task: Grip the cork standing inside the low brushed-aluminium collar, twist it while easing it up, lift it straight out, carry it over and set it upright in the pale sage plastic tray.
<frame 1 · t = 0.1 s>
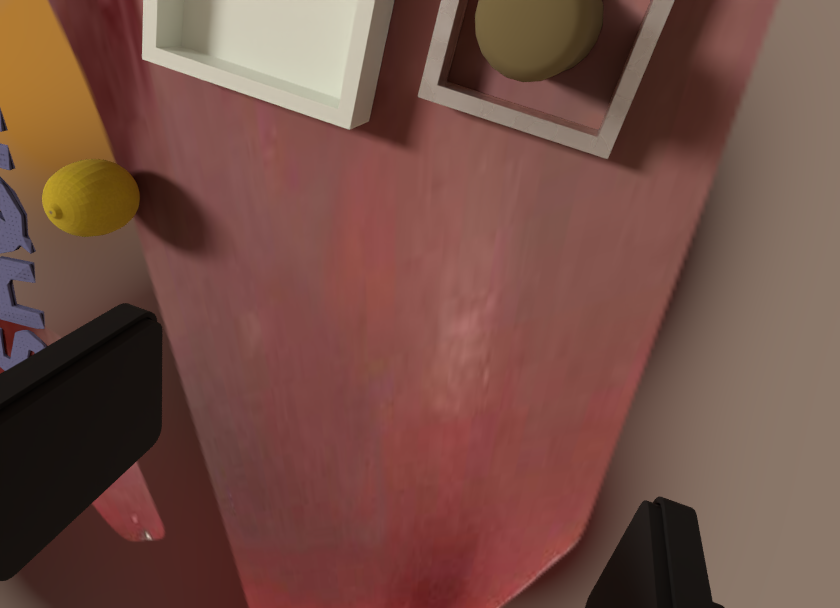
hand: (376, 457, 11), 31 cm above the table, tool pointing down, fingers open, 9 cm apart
collar: (549, 19, 35), on the table
lemon: (132, 184, 48), on the table
cork: (550, 19, 35), resting in collar
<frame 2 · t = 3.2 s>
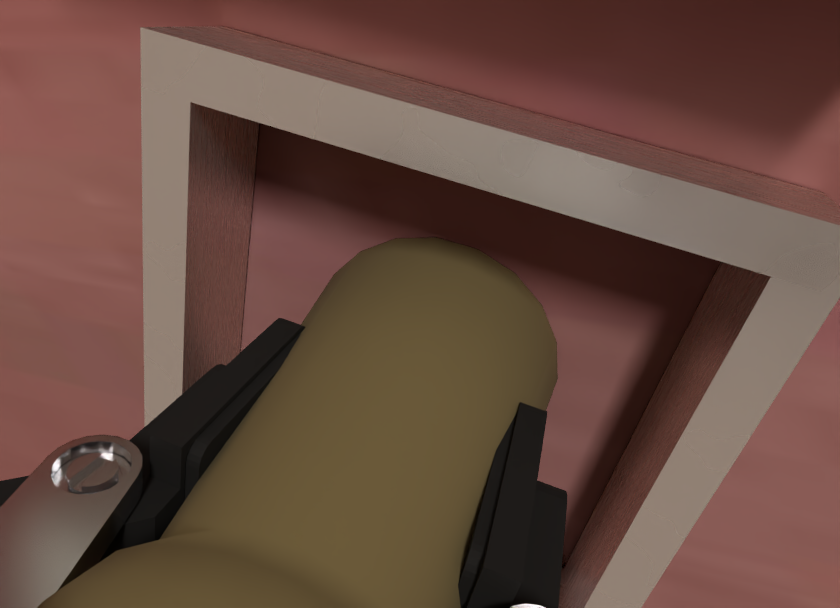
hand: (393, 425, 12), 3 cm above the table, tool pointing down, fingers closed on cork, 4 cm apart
collar: (430, 355, 14), on the table
cork: (432, 352, 14), resting in collar, touching gripper
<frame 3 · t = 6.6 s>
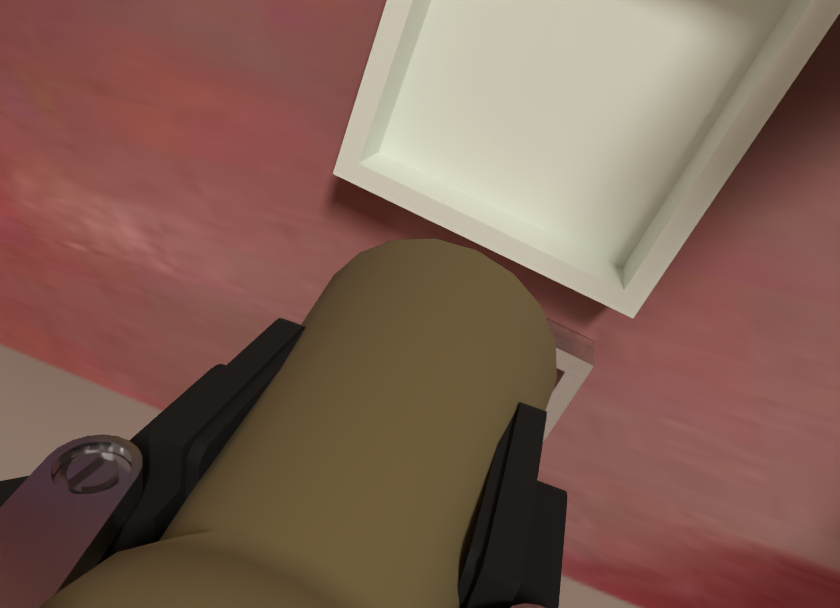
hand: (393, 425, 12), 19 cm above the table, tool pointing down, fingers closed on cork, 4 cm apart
tray: (563, 74, 26), on the table
collar: (448, 374, 34), on the table
cork: (431, 352, 14), point 16 cm above the table, touching gripper
when the fingers open (5 cm above the table, at t = 10.1 s): cork stays where it is, resting on tray.
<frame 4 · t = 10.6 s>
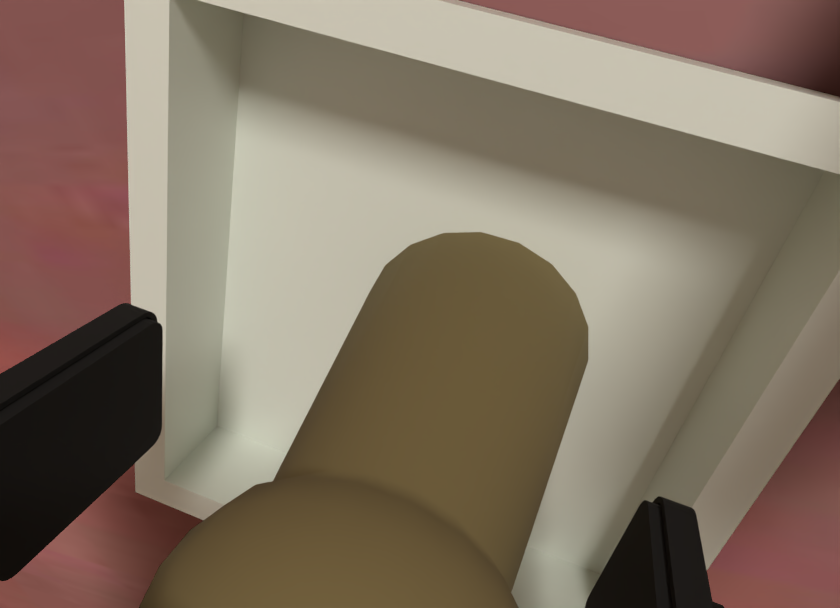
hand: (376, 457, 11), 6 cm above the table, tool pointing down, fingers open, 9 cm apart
tray: (452, 312, 16), on the table
cork: (472, 336, 16), point 1 cm above the table, touching tray
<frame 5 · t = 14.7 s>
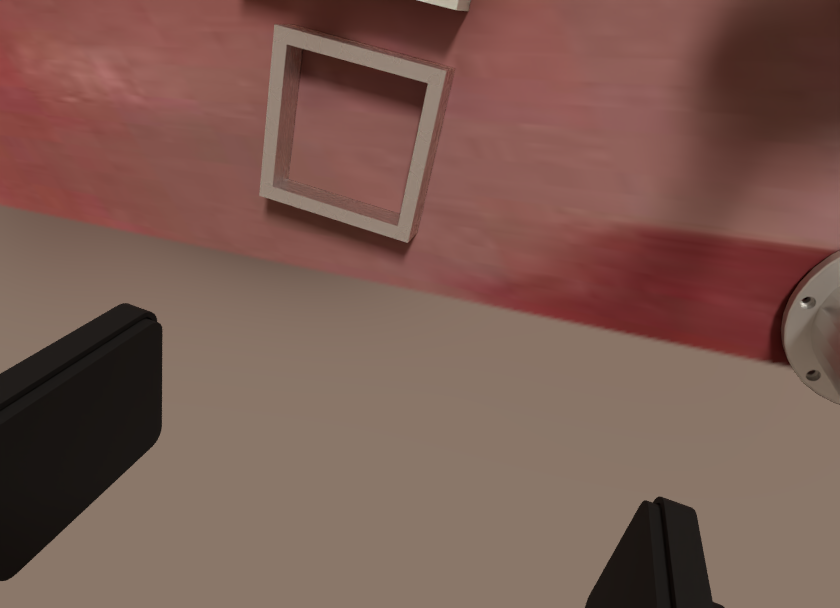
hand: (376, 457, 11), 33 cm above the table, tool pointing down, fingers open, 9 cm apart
collar: (357, 133, 43), on the table
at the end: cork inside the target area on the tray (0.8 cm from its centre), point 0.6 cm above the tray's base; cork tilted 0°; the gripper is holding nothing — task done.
